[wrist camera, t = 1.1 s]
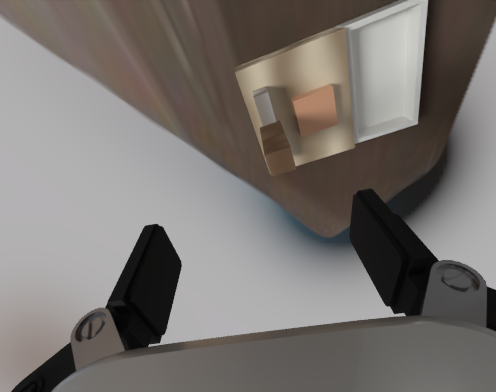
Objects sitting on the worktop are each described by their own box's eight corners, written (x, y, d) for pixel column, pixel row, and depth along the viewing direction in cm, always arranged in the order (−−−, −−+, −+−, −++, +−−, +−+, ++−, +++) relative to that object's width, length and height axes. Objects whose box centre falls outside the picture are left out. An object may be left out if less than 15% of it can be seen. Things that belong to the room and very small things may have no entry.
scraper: (268, 84, 27) (281, 110, 19) (287, 152, 32) (303, 195, 24) (249, 92, 27) (252, 120, 19) (270, 157, 32) (280, 202, 24)
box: (410, -5, 25) (428, -8, 23) (404, 116, 33) (417, 123, 31) (334, 26, 27) (344, 26, 24) (346, 135, 35) (354, 144, 32)
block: (328, 83, 27) (333, 86, 25) (333, 120, 29) (337, 124, 28) (290, 97, 28) (293, 101, 26) (298, 132, 30) (301, 136, 29)
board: (332, 27, 27) (344, 27, 24) (344, 136, 35) (354, 147, 32) (235, 67, 29) (234, 72, 26) (267, 161, 37) (270, 174, 34)
